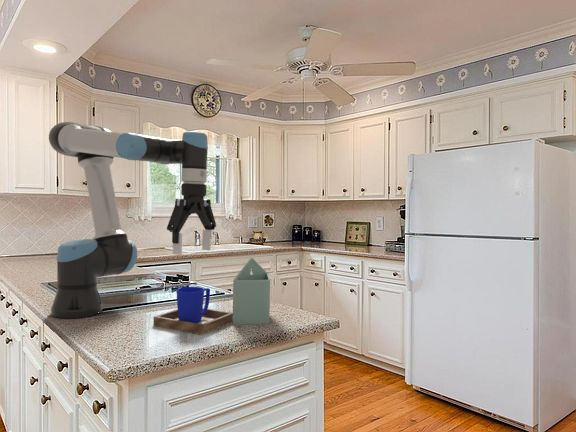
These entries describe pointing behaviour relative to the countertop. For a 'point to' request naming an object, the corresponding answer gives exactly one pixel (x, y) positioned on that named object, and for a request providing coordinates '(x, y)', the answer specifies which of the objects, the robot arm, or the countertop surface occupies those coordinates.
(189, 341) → the countertop surface
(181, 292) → the mug
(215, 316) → the brown wooden tray
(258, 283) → the planter
